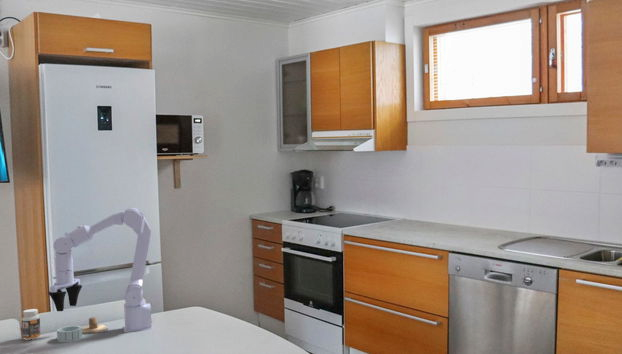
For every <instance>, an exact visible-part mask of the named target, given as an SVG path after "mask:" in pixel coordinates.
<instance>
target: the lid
mask: <svg viewBox="0 0 622 354" xmlns="http://www.w3.org/2000/svg"><path fill="white" fill-rule="evenodd" d="M106 329H107V328H106V326H105V324H98V317H97V316H95V317H94V316H93V317H90V318H88V325H86V326H82V333H85V334H87V335H92V334H91V333H96V334H99V333H98V332H102V331H104V330H106Z"/></svg>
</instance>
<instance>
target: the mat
mask: <svg viewBox="0 0 622 354" xmlns="http://www.w3.org/2000/svg"><path fill="white" fill-rule="evenodd" d="M108 332H109V327H108V328H107V329H106V330H104V331H102V332H98V333H91V334H90V335H95V334H103V333H108ZM84 335H86V336H87V335H88V334H85V333H82V336H84Z"/></svg>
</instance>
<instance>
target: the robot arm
mask: <svg viewBox="0 0 622 354" xmlns="http://www.w3.org/2000/svg"><path fill="white" fill-rule="evenodd" d="M113 225H115V226H116V225H119V226H122V225H125V226H127V227H129V228H131V230H133V232H134V233H135V234H136V235H137V239H136V245H135V249H134V250H135V251H134V256H133V262H132V268H131V275H130V280H129V285H128V286H127V287H126V289H125V295H124V301H125V303H124V304H123V308H124V309H123V310H124V311H123V312H124V326H123V332H124V333H128V332H129V333H130V332H137V331H138V332H139V331H146V330H148V331H149V330H152V329H153V328H152V324H153V320H152V319H153V318H152V306H151V303H148V302H147V303H146V302H145V301H144V300H143V299H144V295H143V294H144V290H143V284H144V283H143V281H144V275H145V271H146V265H147V258H148V253H149V248H150V247H149V246H150V242H151V241H150V240H151V235H152V229H151V228H150V227H151V226H150V225H149V223H148V221H147V219H146V218H145V215H144V214H143V212H141V211H140V210H139V209H138V208H136V207H132V206H131V207H128V208H126V209H124V210H121V211H117V212H115V213H113V214H111V215H109V216H106V217H105V218H103V219H101V220H99V221H98V222H96V223H94V224H92V225H90V226H89V225H85V224H84V225H78V226H77V228H76V229H74V230H71V231H70V232H69V231H68V232H65V233H64V235H61V236H59V237H58V238H57V239H55V241H54V242H53V249H54V251H55V258H54V261H55V275H56V276H55V278H56V280H55V282H54V283H53V285H52V286H49V289H50V290H49V291H48V295H49V297H50V298H51V299H52V300H53V304H54V307H55V309H56V312H63V311H64V309H65V297H66V294H67V296H68V302H69V303H68V304H69V306H70V307H76V306H77V303H78V298H79V294H80V293H81V290H82V289H83V285H82V284H81V278H74V277H75V275H74V261H73V259H74V258H73V252H72V248H77V247H79V246H81V245H84V244H85V243H88V242H89V241H91V240H93V238H94V235H95V234H96V233H99V232H101V231H103V230H105V229H108V228H109V227H112V226H113ZM62 290H66V291H62Z"/></svg>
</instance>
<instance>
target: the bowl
mask: <svg viewBox="0 0 622 354" xmlns="http://www.w3.org/2000/svg"><path fill="white" fill-rule="evenodd" d="M82 328H83V326H81V325H67V326H61V327H59V328H57V330H56V339H57V341H58V342H59V343H70V342H75V341H79V340H82V339H83V335H82Z"/></svg>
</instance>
